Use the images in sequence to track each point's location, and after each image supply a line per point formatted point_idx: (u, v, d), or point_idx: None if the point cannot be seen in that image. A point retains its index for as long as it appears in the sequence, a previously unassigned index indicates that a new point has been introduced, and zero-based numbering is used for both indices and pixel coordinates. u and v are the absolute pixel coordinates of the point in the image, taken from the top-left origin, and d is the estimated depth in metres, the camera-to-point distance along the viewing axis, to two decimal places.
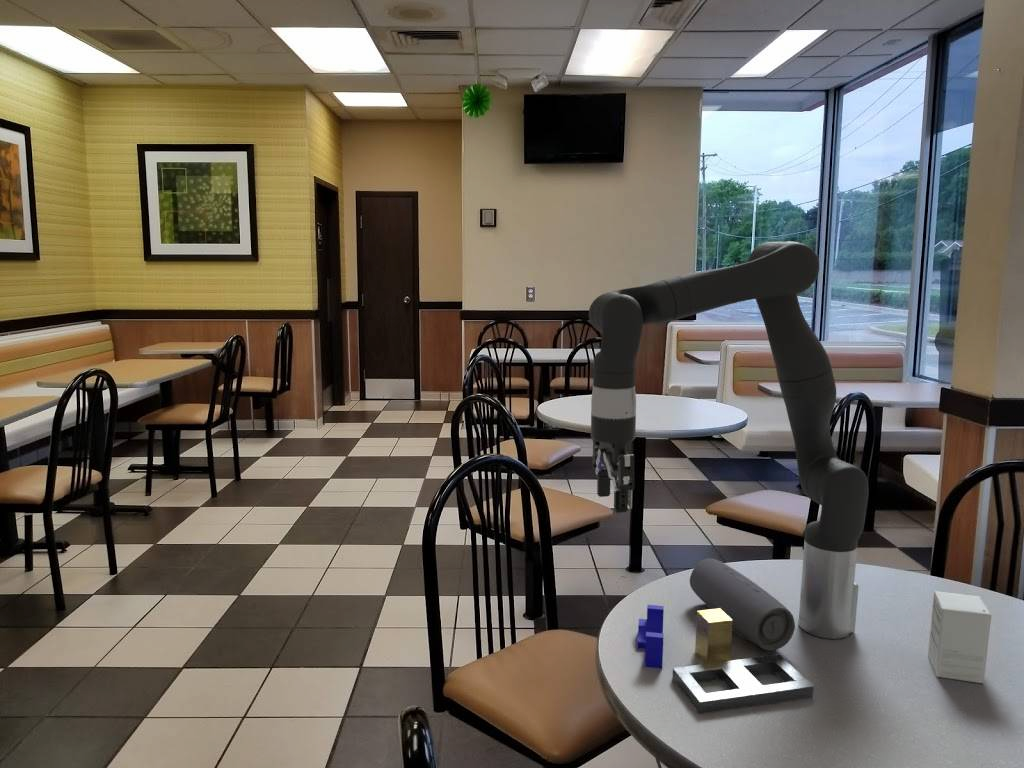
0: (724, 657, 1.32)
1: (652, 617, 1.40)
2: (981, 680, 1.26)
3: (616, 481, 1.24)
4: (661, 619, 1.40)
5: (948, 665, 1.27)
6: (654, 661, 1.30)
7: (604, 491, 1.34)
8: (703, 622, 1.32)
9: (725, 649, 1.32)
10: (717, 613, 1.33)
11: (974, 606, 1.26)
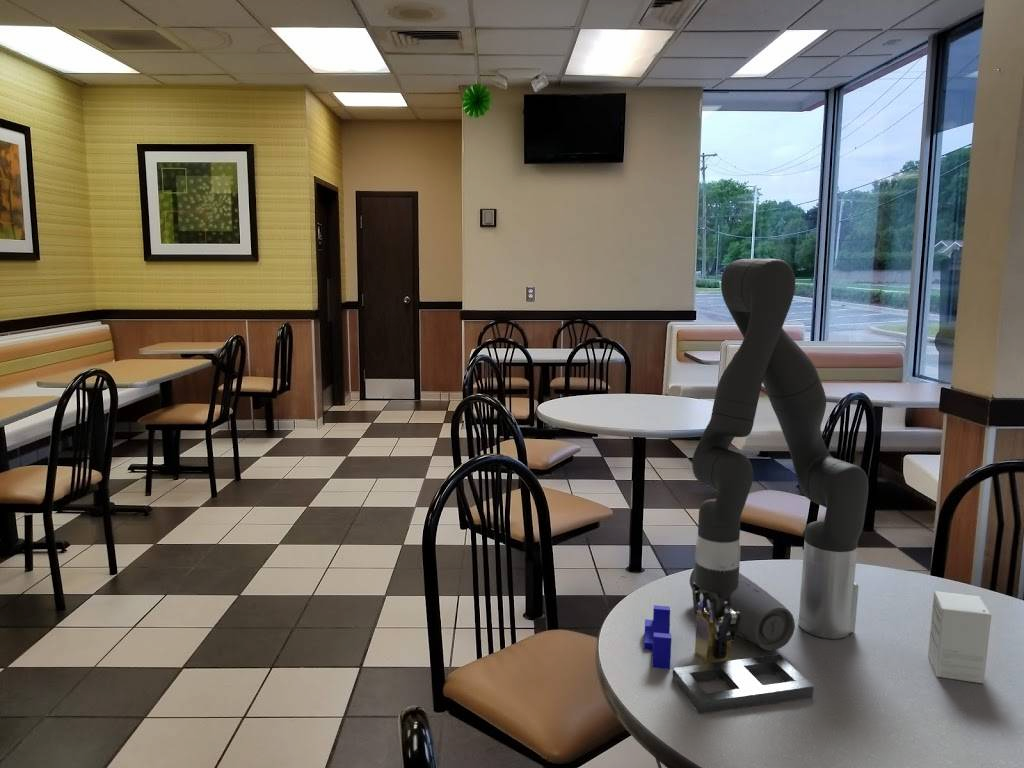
0: None
1: (658, 618, 1.40)
2: (981, 680, 1.26)
3: (717, 631, 1.30)
4: (668, 620, 1.39)
5: (948, 665, 1.27)
6: (662, 661, 1.30)
7: None
8: (703, 622, 1.32)
9: None
10: None
11: (974, 606, 1.26)
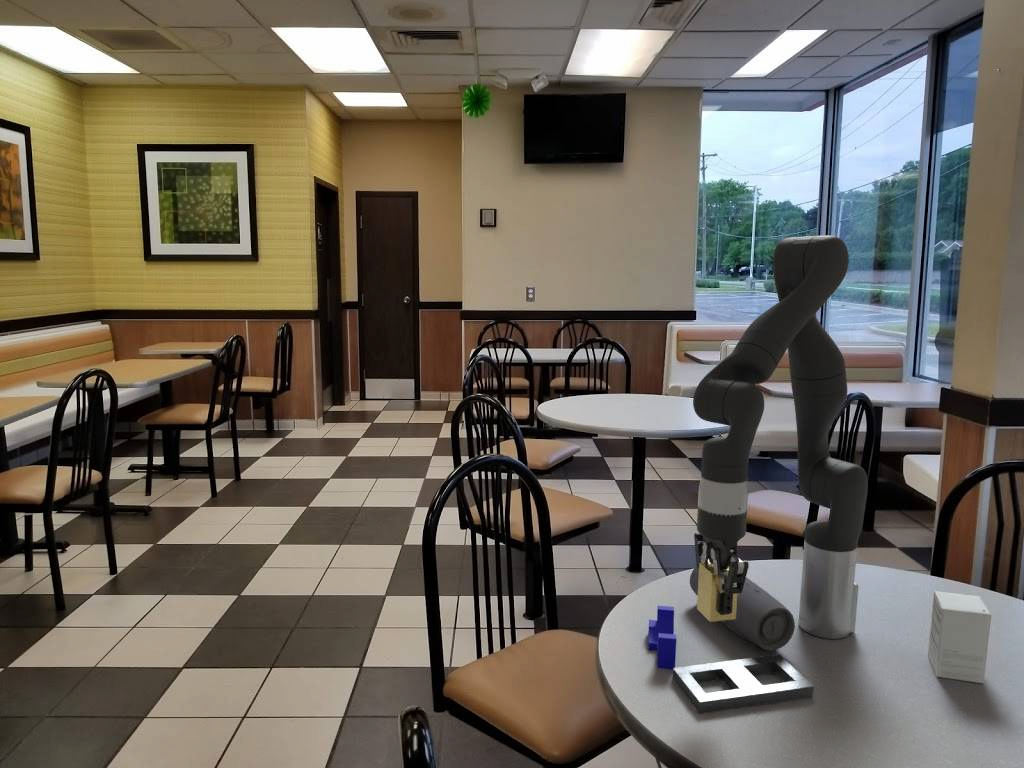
0: None
1: (663, 618, 1.40)
2: (981, 680, 1.26)
3: (722, 584, 1.17)
4: (672, 620, 1.39)
5: (948, 665, 1.27)
6: (667, 662, 1.30)
7: None
8: (706, 574, 1.19)
9: None
10: None
11: (974, 606, 1.26)
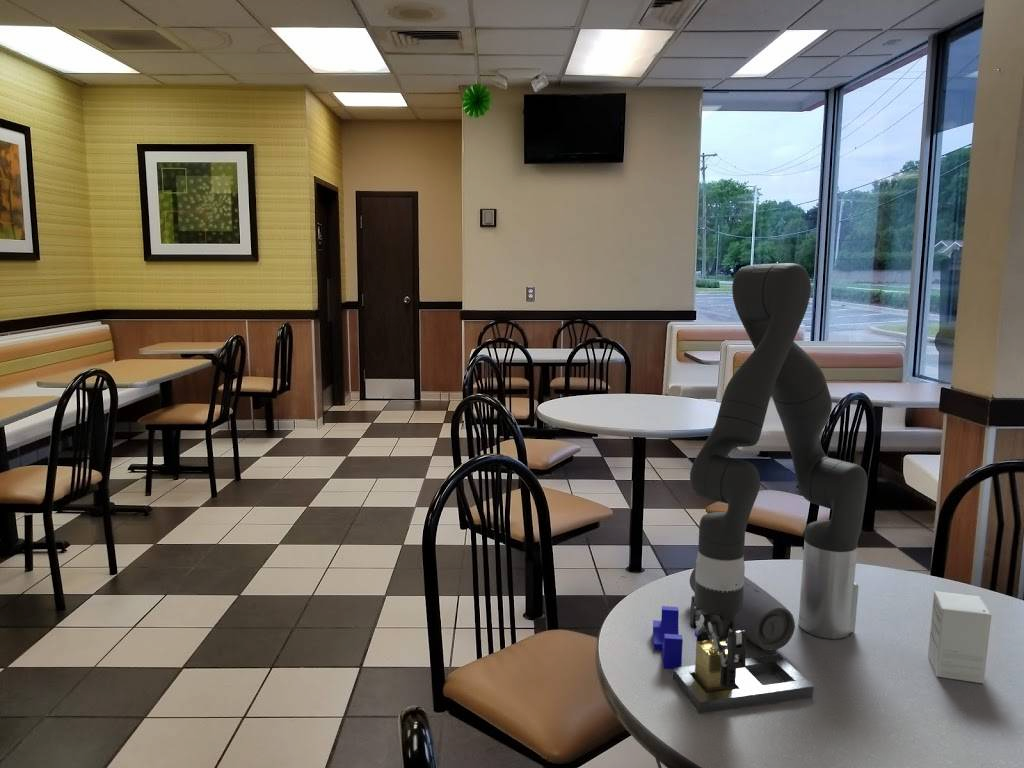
0: None
1: (667, 618, 1.39)
2: (981, 680, 1.26)
3: (724, 656, 1.17)
4: (676, 620, 1.39)
5: (948, 665, 1.27)
6: (674, 662, 1.30)
7: None
8: (703, 655, 1.22)
9: None
10: None
11: (974, 606, 1.26)
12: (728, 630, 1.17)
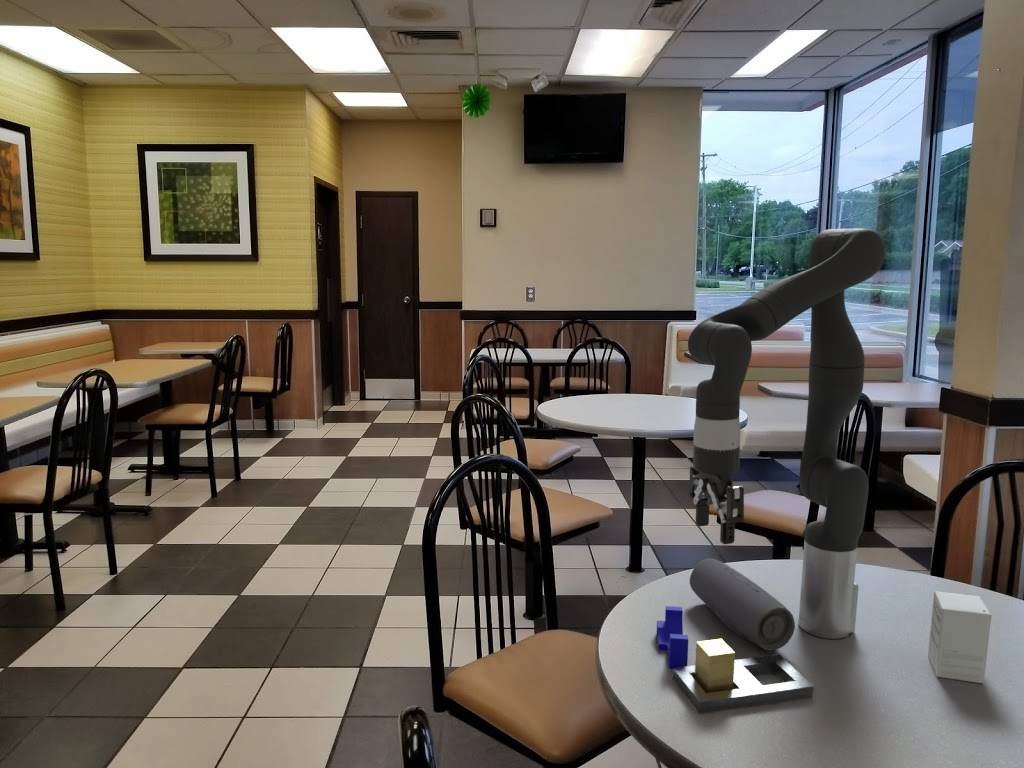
0: None
1: (671, 618, 1.39)
2: (981, 680, 1.26)
3: (723, 513, 1.23)
4: (680, 620, 1.39)
5: (948, 665, 1.27)
6: (679, 663, 1.30)
7: (703, 520, 1.32)
8: (703, 655, 1.22)
9: (727, 684, 1.21)
10: (718, 645, 1.23)
11: (974, 606, 1.26)
12: (726, 488, 1.22)
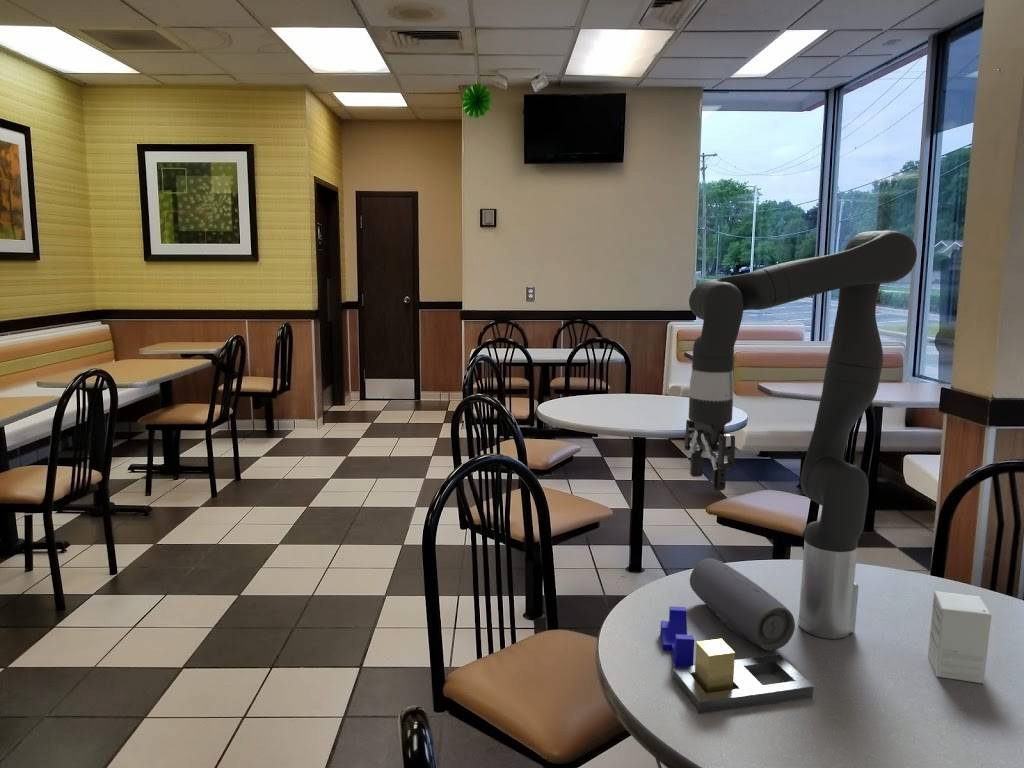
0: None
1: (675, 619, 1.39)
2: (981, 680, 1.26)
3: (715, 461, 1.30)
4: (684, 620, 1.39)
5: (948, 665, 1.27)
6: (685, 663, 1.30)
7: (697, 471, 1.40)
8: (703, 655, 1.22)
9: (727, 684, 1.21)
10: (718, 645, 1.23)
11: (974, 606, 1.26)
12: (719, 436, 1.30)
